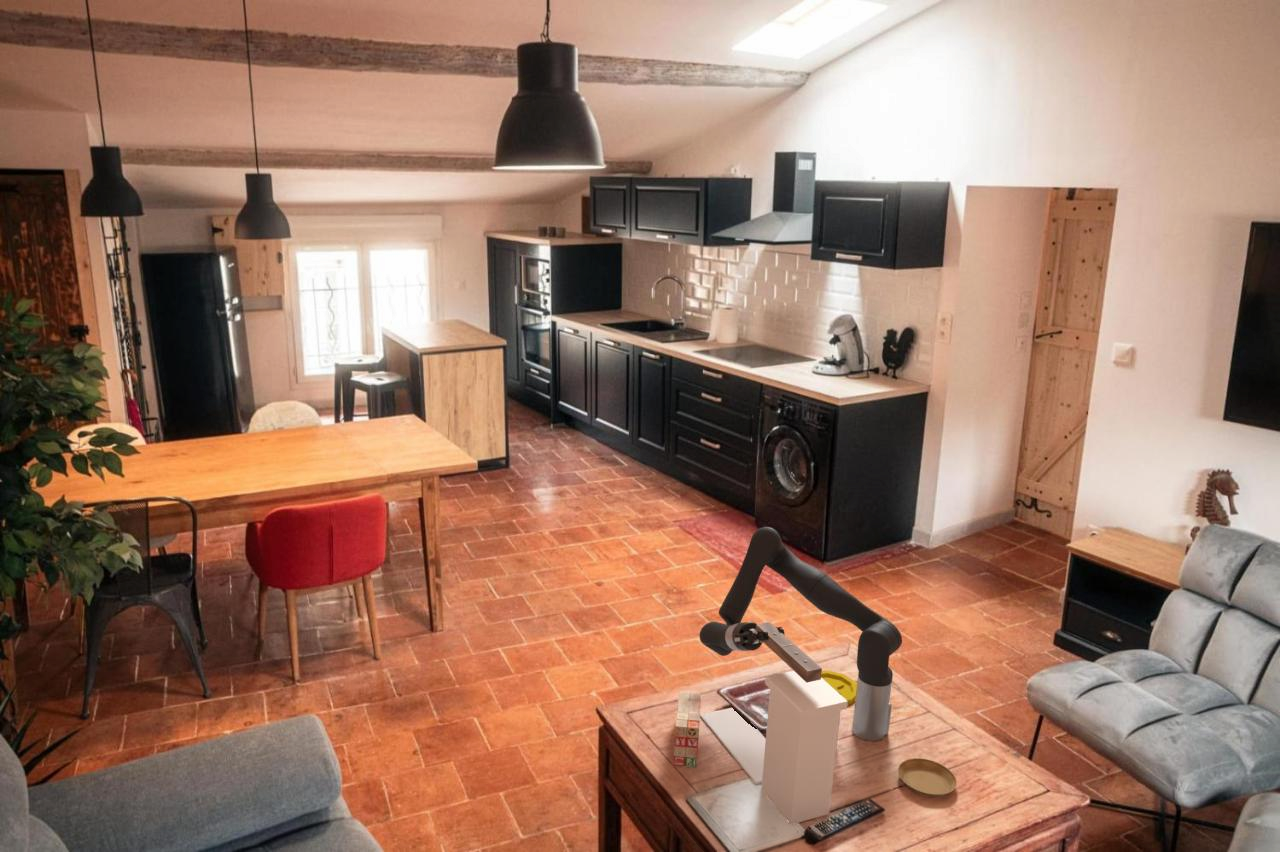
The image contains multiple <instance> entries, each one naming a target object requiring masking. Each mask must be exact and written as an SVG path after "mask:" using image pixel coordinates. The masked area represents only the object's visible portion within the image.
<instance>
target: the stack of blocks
mask: <svg viewBox="0 0 1280 852" xmlns="http://www.w3.org/2000/svg"><path fill="white" fill-rule="evenodd" d="M678 693H679V694H678V701H677V713H676V719H675V726H674V727H675V728H674V750H673V761H672V765H673V766H676V767H686V768H687V767H688V768H697V764H698V752H699V740H700V739H699V738H700V734H699V733H700V725H701V724H700V722H701V720H700V719H701V717H700V714H701V703H702V699H701V695H702V694H701V692H695V691H694V692H692V691H690V692H689V691H679V692H678Z"/></svg>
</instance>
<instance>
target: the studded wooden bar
mask: <svg viewBox="0 0 1280 852" xmlns="http://www.w3.org/2000/svg"><path fill="white" fill-rule="evenodd" d="M776 627H777V626H775V625H774V624H773V623H771V621H768V622H762V623H756V631H757V632H763V631H767V632H768V638H769V640H764V641H763V643H764V645H766V646H767V647H768V648H769V649H770V650H771V651H772V652H773V653H774V654H775V655H776V656H778V658H780V659H781V660H782V661H783V662H784V663H785V664H786V665H787V666H788V667H789V668H790V669H791V670H792V671H795V672H796V673H797V674H798V675H799V676H800V677H801V678H802V679H803V680H804V681H805V682H806V683H807V682H812V681H816V680H821V673H822V671H823V668H822V667H821V666H820V665H819V664H818V663H817V662H815V660H813V659H812V658H811V657H810V656H809V655H807V654H806V653H805V652H804V651H803V650H802V649H801V648H800V647H798V646H797V644H795V643H794V642H793V641H792V640H791V639H790V638H788V637H787V636H786V634H785V633H784V634H785V635H784V634H783V633H781V632H780V631H779V630H778V629H777V628H776Z"/></svg>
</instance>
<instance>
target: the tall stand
mask: <svg viewBox="0 0 1280 852" xmlns="http://www.w3.org/2000/svg"><path fill="white" fill-rule="evenodd" d="M764 679H765V680H764V685H765V686H766V687H767V688H768V689H769V697H768V698H769V699H768V707H767V709H768V710H767V720H766V733H765V738H766V742H765V754H764V765H763V777H762V783H761V790H762V792H763V793H764V794H765V796H767V797H768V799H769V800H770V801H771V803H772V804H773V803H774V804H773V805H774V806H775V807H776V809H777V810H778V811H779V812H780V813H781V814H782V816H783V817H784V818H785V819H786V821H787V820H788V821H789V822H790V823H789V822H788V821H787V822H788V823H789V824H790V825H791V824H792V825H795V824H799V823H801V822H806V821H809V820H812V819H813V820H814V819H816V818H820V817H823V816H827V815H829V814H830V811H831V810H830V807H831V798H832V791H833V782H834V781H833V780H834V772H835V763H836V755H837V753H836V752H837V745H838V744H837V743H838V738H839V737H838V735H839V726H840V717H841V712H842V711H843V710H846V709H848V705H847V703H848V701H847V700H846V699H845V698H844V697H842V696H841V695H840V694H839V693H838V692H837V691H836V690H835V689H833V688H832V687H831V686H830V685H829V684H828V683H827V682H826V681H825V680H823V679H822V678H821V680H816V681H812V682H807V683H806V682H805V681H804V680H803V679H802V678H801V677H800V676H799V675H798V674H797V673H796V672H795V671H794V670H792V671H786V672H782V673H777V674H773V675H767V676H765V678H764ZM794 823H795V824H794Z"/></svg>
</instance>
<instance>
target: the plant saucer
mask: <svg viewBox="0 0 1280 852" xmlns="http://www.w3.org/2000/svg"><path fill="white" fill-rule="evenodd" d="M897 775H898V777H899V779H900V780H901V781H902V782H903V784H905V786H906V787H907V788H908V789H910V790H911V791H913V792H914V793H915V794H917V795H920V796H924V797H926V798H940V797H944V796H946V795H948V794H951V792H954V790H955V789H956V787H957V785H958V781H957V778H956V776H955V774H954V772H953V771H951V770H950V768H948V767H946V766H945V765H943V764H941V763H940V762H937V761H934V760H931V759H928V758H921V757H920V758H919V757H917V758H916V757H915V758H908V759H906V760H904V761H902V762H900V763H899V765H898V767H897Z"/></svg>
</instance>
